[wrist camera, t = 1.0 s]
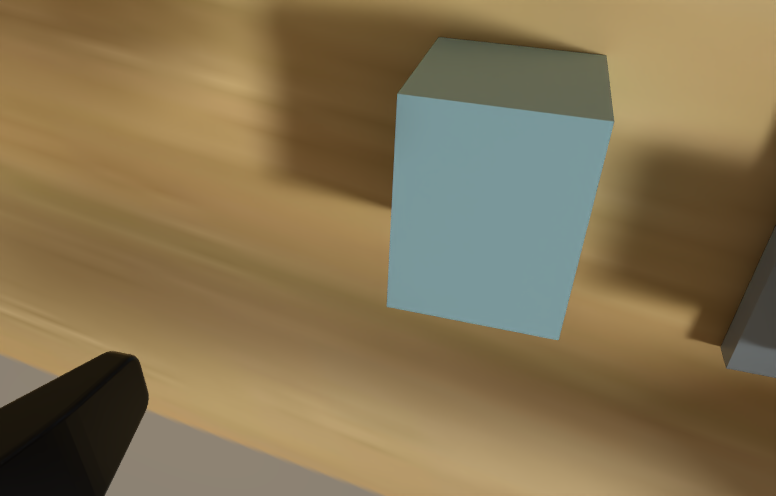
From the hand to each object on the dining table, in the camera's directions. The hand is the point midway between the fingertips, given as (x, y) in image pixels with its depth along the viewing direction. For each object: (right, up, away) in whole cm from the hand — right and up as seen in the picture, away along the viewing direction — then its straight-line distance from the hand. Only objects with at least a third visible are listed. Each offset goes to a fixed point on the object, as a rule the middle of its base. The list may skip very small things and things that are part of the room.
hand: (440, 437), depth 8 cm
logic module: (+3, +6, +11) cm, 12 cm away
